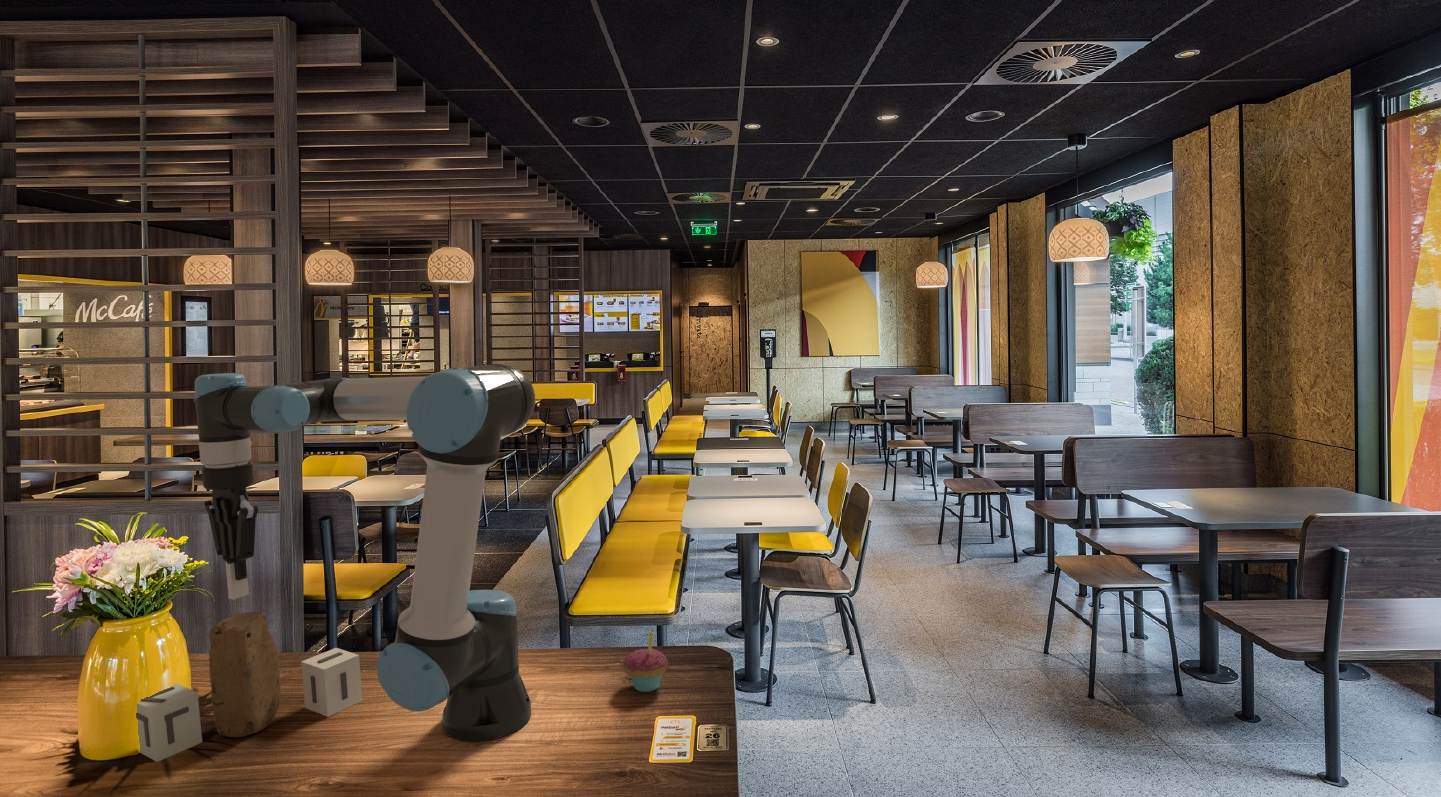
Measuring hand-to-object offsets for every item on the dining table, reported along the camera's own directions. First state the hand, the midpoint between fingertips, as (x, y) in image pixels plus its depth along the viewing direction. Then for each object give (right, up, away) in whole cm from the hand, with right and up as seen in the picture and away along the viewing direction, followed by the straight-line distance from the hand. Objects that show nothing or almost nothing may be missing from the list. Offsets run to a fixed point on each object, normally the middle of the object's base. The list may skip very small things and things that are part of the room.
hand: (238, 596), depth 143 cm
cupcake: (+70, -21, +14) cm, 74 cm away
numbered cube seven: (-9, -25, -4) cm, 27 cm away
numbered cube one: (+12, -23, +10) cm, 27 cm away
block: (+1, -24, +3) cm, 24 cm away
